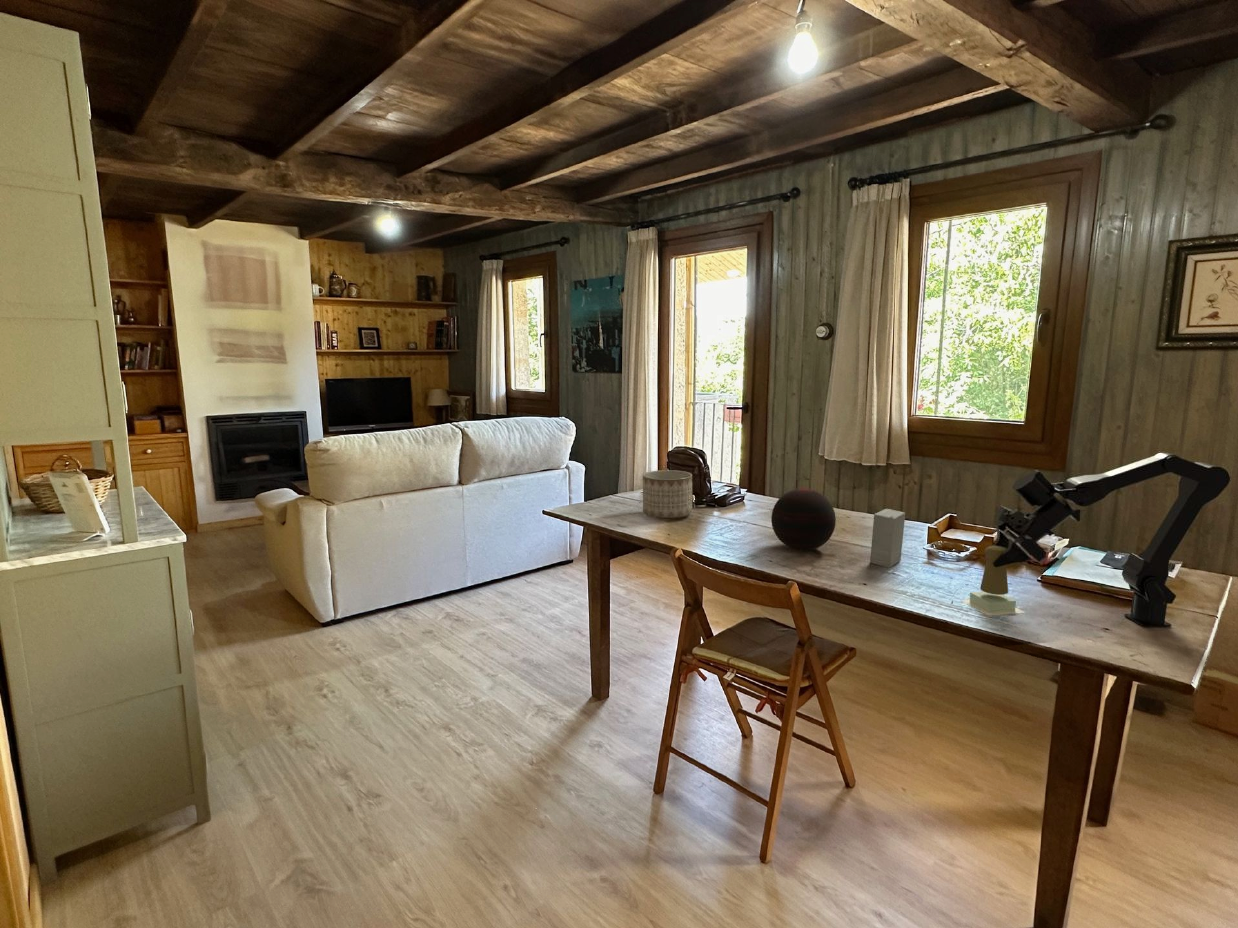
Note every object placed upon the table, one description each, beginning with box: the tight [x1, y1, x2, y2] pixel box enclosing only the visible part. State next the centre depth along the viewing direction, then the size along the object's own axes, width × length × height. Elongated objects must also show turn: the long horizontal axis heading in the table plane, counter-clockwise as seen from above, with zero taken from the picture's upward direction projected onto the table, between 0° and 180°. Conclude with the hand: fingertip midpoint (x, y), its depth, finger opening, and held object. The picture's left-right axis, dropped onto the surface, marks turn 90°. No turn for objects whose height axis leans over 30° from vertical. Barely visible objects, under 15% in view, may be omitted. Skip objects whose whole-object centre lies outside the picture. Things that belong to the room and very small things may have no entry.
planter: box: [642, 469, 693, 520], centre depth 261 cm, size 19×19×16 cm
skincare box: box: [869, 508, 906, 568], centre depth 200 cm, size 8×7×16 cm
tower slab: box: [960, 598, 1026, 616], centre depth 164 cm, size 10×10×2 cm
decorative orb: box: [770, 488, 837, 552], centre depth 214 cm, size 20×20×20 cm
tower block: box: [969, 590, 1017, 613], centre depth 163 cm, size 7×7×2 cm
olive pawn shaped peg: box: [979, 545, 1009, 595], centre depth 162 cm, size 6×6×11 cm
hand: (990, 562), depth 162 cm, fingers closed on olive pawn shaped peg, 5 cm apart
